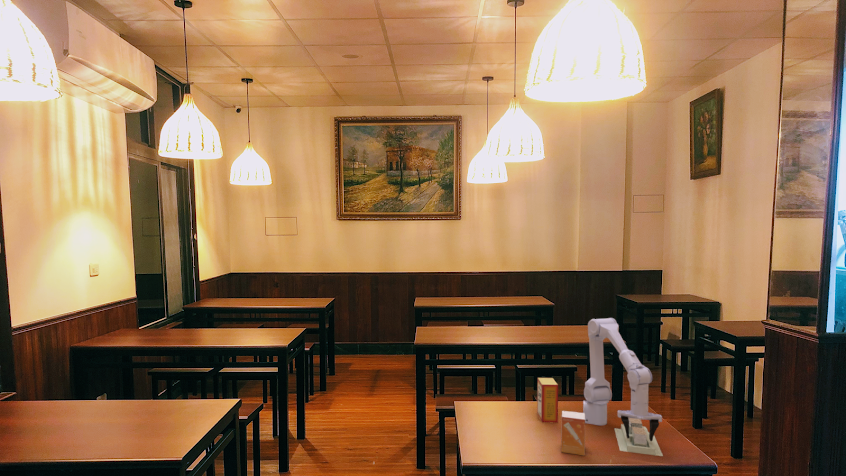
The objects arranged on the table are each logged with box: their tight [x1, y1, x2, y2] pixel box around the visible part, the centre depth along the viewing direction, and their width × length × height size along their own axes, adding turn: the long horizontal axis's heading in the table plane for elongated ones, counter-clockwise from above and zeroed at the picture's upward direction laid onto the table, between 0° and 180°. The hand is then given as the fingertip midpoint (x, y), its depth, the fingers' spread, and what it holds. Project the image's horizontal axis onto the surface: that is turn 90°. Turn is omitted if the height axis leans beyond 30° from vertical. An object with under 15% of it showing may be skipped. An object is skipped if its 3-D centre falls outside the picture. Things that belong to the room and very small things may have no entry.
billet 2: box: [632, 427, 647, 447], centre depth 171 cm, size 4×6×6 cm, turn 163°
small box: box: [560, 410, 586, 457], centre depth 170 cm, size 8×6×13 cm
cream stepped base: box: [614, 423, 664, 457], centre depth 175 cm, size 14×20×3 cm
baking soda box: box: [536, 377, 559, 424], centre depth 199 cm, size 10×6×16 cm
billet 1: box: [628, 418, 643, 434], centre depth 180 cm, size 4×6×6 cm, turn 163°
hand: (639, 438), depth 171 cm, fingers open, 7 cm apart
